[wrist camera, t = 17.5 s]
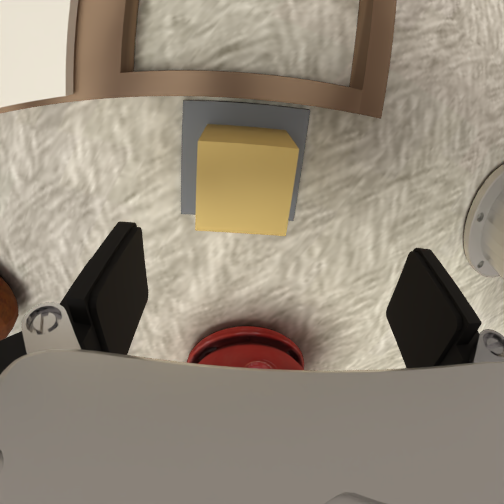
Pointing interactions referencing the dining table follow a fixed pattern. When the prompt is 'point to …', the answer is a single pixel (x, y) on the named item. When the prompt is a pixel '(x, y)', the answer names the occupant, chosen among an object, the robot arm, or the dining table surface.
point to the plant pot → (248, 349)
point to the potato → (7, 309)
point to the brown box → (219, 82)
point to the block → (244, 179)
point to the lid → (36, 49)
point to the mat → (237, 115)
